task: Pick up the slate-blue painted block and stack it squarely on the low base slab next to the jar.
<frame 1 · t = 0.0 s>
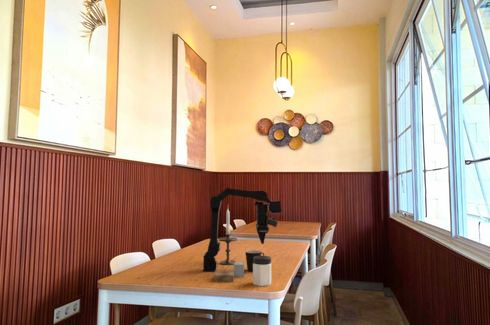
hand: (262, 242, 191), 15 cm above the table, fingers open, 9 cm apart
jar: (262, 284, 163), on the table
coffee mug: (256, 270, 190), on the table
base: (224, 279, 171), on the table
block: (239, 275, 179), on the table
candlestick: (227, 263, 208), on the table
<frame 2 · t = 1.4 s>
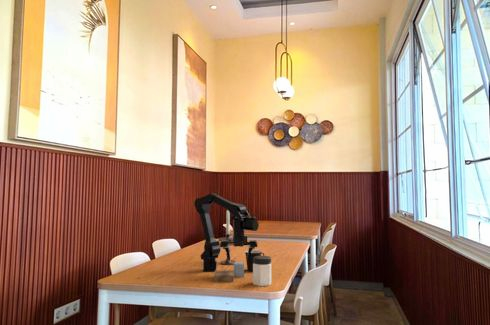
hand: (238, 260, 180), 7 cm above the table, fingers open, 9 cm apart
nothing on the table moved.
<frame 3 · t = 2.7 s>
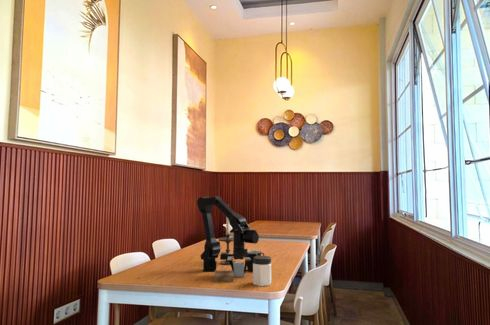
hand: (238, 273, 180), 1 cm above the table, fingers closed on block, 5 cm apart
block: (238, 275, 179), on the table, touching gripper
everything else where it was.
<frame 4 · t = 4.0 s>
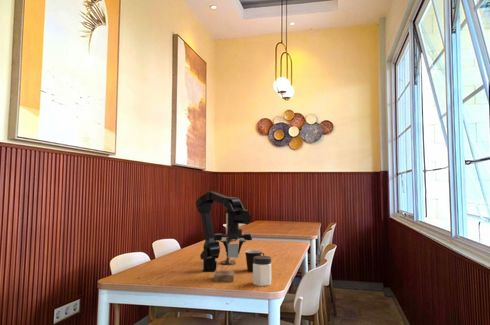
hand: (233, 254, 177), 11 cm above the table, fingers closed on block, 5 cm apart
block: (233, 256, 177), point 10 cm above the table, touching gripper
everything else where it was.
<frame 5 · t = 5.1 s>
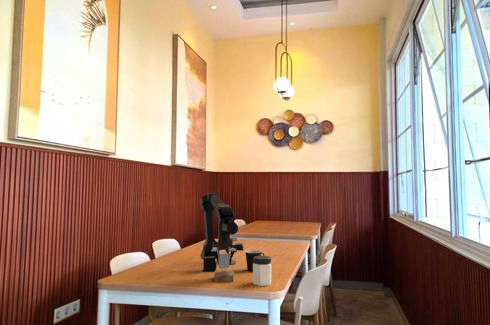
hand: (224, 264, 172), 7 cm above the table, fingers closed on block, 5 cm apart
block: (224, 267, 172), point 6 cm above the table, touching gripper
everything else where it was.
when the fingers open (5 cm above the table, at t = 5.7 s): block drops 1 cm, resting on base.
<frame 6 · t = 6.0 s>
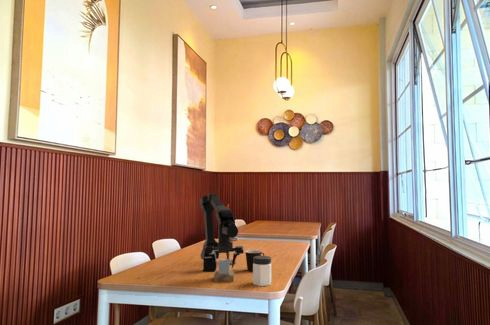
hand: (224, 267, 172), 5 cm above the table, fingers open, 8 cm apart
block: (224, 273, 172), point 3 cm above the table, touching base
everything else where it was.
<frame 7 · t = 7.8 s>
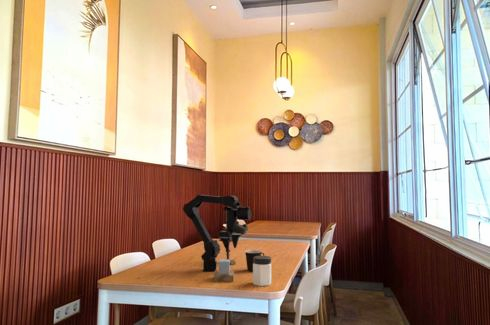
hand: (231, 249, 187), 12 cm above the table, fingers open, 9 cm apart
nothing on the table moved.
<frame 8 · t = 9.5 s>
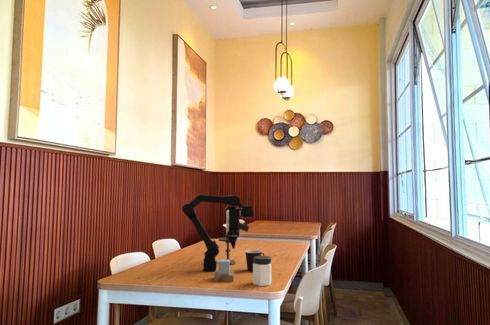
hand: (233, 247, 193), 12 cm above the table, fingers open, 9 cm apart
nothing on the table moved.
at the end: block 0.0 cm off-centre on the base, point 3.0 cm above the base's base; block tilted 0°; the gripper is holding nothing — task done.
